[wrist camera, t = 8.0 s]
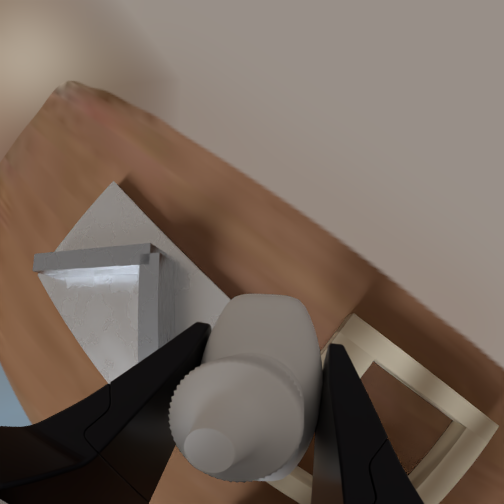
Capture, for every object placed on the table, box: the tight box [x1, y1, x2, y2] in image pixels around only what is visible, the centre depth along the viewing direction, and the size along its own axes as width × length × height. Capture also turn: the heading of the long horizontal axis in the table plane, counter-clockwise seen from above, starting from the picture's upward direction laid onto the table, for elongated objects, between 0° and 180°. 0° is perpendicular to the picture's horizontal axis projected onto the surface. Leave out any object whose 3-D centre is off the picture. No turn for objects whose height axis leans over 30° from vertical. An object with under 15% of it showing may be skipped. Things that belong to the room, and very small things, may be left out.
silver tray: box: [33, 181, 232, 384], centre depth 22 cm, size 12×20×4 cm, turn 47°
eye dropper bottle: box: [168, 294, 323, 482], centre depth 9 cm, size 4×6×12 cm
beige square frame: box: [266, 313, 499, 504], centre depth 18 cm, size 16×13×2 cm
